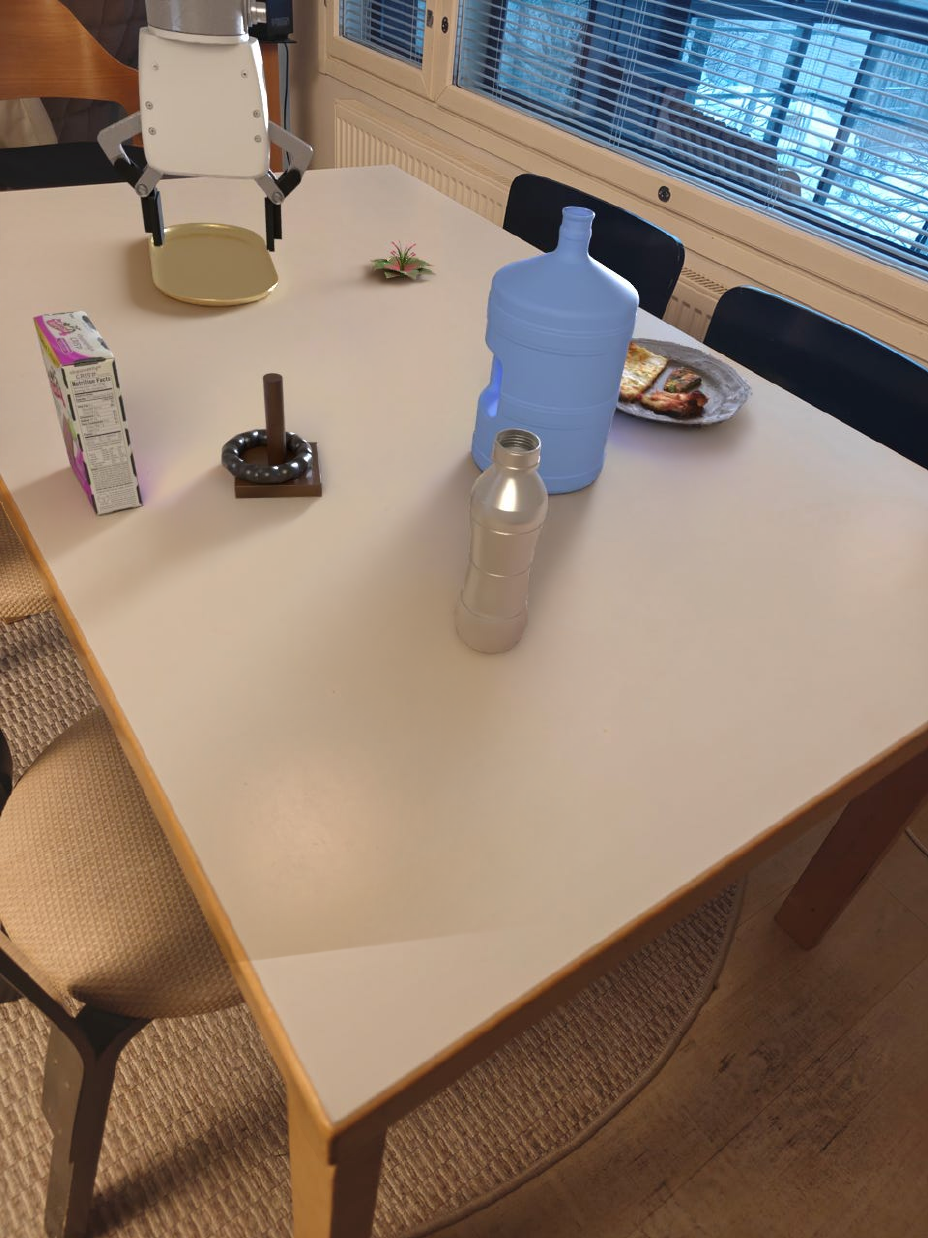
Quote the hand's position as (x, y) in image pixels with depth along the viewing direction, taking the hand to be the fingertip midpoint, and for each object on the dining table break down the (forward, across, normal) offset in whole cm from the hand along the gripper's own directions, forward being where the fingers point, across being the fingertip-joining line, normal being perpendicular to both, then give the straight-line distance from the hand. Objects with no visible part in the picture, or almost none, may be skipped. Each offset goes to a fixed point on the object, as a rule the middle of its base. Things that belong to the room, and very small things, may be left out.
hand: (215, 244), depth 77 cm
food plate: (+24, -57, -21) cm, 65 cm away
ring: (+22, -4, -1) cm, 22 cm away
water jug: (+24, -35, -3) cm, 42 cm away
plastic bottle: (+25, -23, +27) cm, 43 cm away
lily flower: (+24, -27, -65) cm, 74 cm away
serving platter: (+24, +4, -64) cm, 69 cm away
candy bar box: (+25, +13, +1) cm, 28 cm away
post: (+24, -5, -1) cm, 25 cm away
